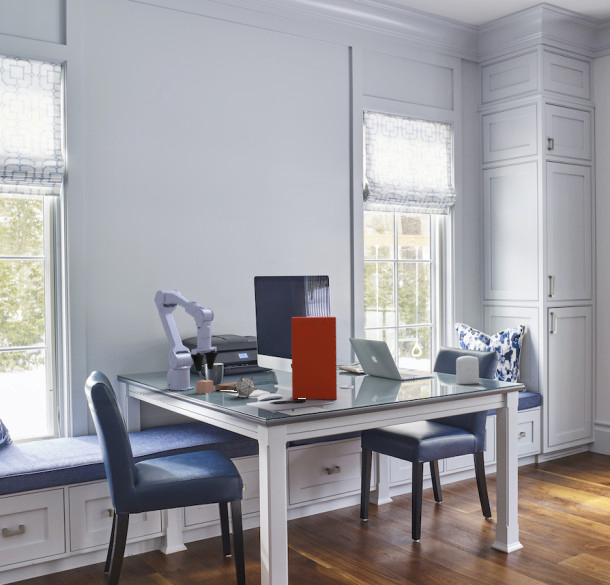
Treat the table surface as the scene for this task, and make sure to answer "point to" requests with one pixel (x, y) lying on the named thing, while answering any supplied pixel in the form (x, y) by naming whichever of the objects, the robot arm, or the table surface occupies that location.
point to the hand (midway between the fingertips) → (204, 370)
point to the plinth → (227, 386)
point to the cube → (204, 386)
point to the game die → (245, 387)
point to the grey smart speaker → (467, 370)
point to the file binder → (314, 358)
